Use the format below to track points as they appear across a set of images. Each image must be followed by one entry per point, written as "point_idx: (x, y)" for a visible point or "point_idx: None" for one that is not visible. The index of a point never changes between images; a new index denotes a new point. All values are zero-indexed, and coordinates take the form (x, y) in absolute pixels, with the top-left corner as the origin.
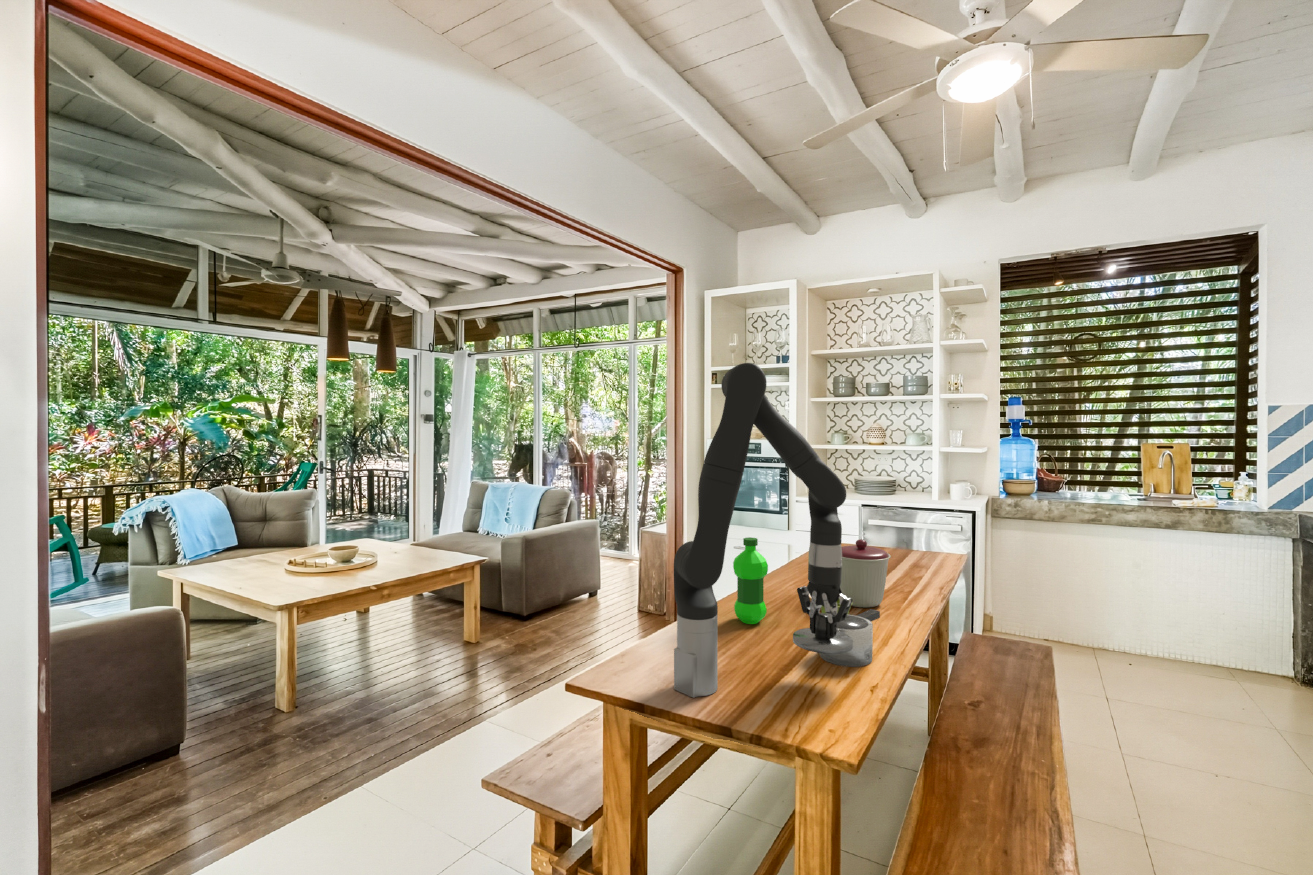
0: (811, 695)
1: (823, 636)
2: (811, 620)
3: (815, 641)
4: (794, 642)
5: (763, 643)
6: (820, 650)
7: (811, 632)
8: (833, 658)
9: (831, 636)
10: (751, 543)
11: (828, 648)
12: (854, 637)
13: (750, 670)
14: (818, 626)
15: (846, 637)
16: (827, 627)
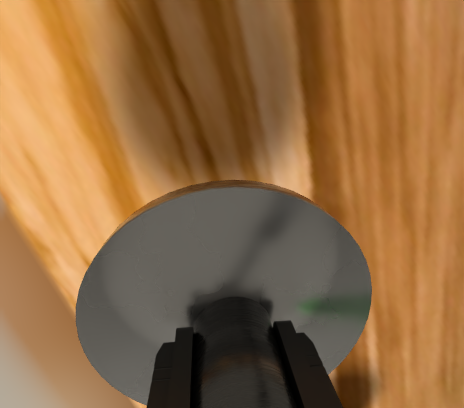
0: (186, 130)
1: (209, 320)
2: (322, 390)
3: (227, 265)
4: (323, 209)
5: (437, 298)
6: (153, 205)
7: (289, 320)
8: None
9: (169, 342)
10: None
11: (113, 235)
12: None
13: (405, 143)
14: (246, 360)
15: None
16: (188, 384)
